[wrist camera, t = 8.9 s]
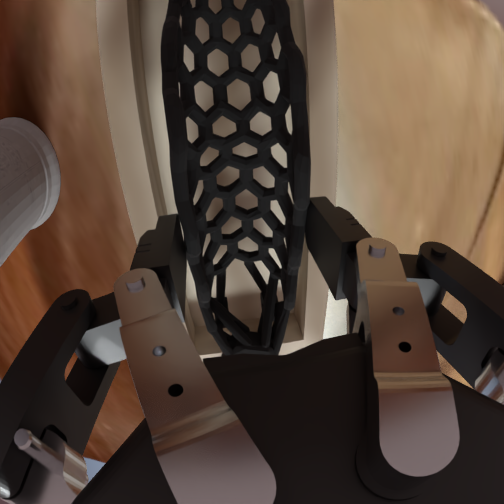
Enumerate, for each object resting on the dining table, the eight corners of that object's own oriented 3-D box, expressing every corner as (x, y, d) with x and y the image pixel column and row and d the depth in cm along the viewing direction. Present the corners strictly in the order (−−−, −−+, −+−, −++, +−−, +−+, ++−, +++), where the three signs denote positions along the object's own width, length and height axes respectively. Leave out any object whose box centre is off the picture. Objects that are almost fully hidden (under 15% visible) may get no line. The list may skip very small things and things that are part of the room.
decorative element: (162, -25, 9) (138, -73, 4) (270, -33, 10) (305, -82, 5) (213, 336, 22) (218, 407, 17) (283, 327, 22) (302, 395, 17)
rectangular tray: (300, -36, 12) (325, -60, 9) (306, 310, 27) (320, 348, 23) (117, -20, 11) (95, -42, 8) (180, 328, 26) (180, 369, 22)
